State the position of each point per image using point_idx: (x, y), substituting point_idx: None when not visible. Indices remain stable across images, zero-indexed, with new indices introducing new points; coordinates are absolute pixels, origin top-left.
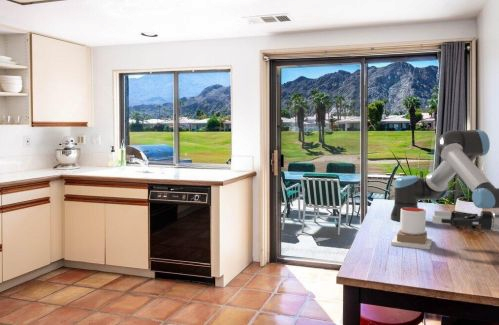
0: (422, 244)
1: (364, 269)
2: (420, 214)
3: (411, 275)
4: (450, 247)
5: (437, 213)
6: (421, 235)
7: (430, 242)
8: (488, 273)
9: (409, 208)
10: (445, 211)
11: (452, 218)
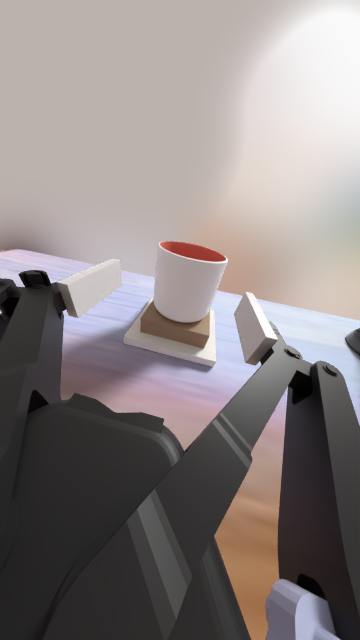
0: (137, 327)
1: (31, 261)
2: (159, 257)
3: None
4: (149, 403)
5: (242, 306)
6: (156, 315)
7: (159, 345)
8: None
9: (221, 257)
10: (258, 316)
11: (27, 281)
